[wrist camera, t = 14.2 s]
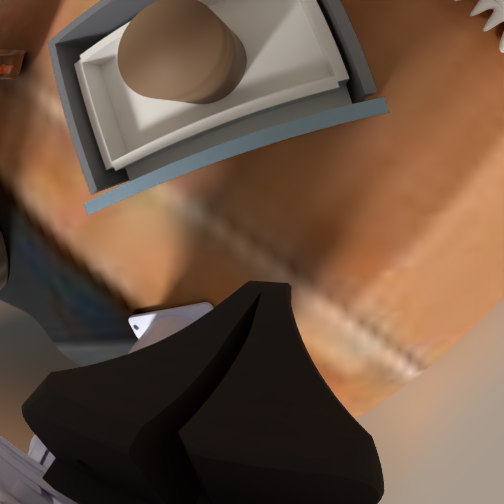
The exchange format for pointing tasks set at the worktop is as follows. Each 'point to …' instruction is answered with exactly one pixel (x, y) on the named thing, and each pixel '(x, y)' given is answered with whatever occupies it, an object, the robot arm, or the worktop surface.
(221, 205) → the worktop surface
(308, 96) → the tray
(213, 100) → the beige cylinder
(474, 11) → the spoon
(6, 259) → the plant pot
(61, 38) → the dock
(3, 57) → the tin
